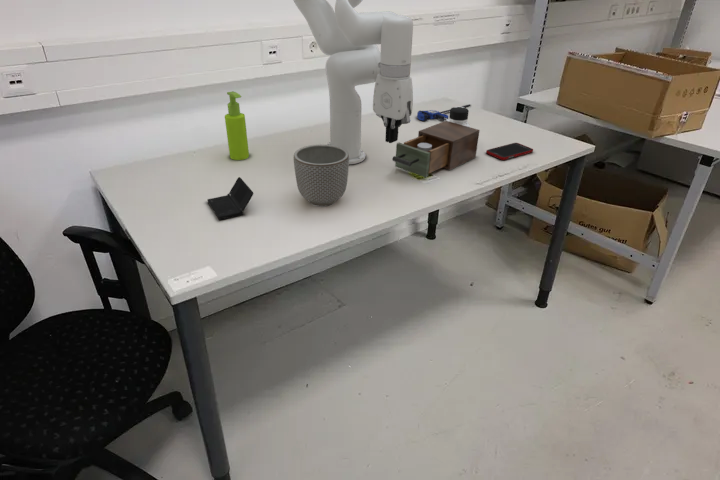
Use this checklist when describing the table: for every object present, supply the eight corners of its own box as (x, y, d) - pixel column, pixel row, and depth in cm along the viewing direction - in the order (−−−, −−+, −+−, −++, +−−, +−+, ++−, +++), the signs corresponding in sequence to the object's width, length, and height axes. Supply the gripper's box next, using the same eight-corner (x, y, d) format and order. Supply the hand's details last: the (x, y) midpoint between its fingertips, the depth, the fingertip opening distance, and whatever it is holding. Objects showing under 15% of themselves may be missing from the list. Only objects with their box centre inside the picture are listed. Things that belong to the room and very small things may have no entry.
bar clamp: (434, 118, 182) (413, 112, 188) (433, 124, 183) (412, 118, 189) (482, 105, 202) (462, 99, 208) (481, 110, 203) (461, 105, 209)
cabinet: (449, 170, 147) (453, 141, 142) (416, 158, 154) (418, 130, 150) (475, 157, 156) (479, 129, 152) (443, 147, 164) (446, 120, 159)
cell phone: (533, 152, 161) (534, 149, 160) (502, 160, 154) (503, 158, 153) (515, 144, 166) (516, 142, 166) (484, 153, 159) (485, 150, 159)
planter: (326, 184, 137) (326, 140, 130) (359, 202, 128) (360, 155, 121) (285, 198, 129) (282, 152, 122) (317, 218, 120) (315, 169, 114)
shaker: (420, 166, 144) (421, 148, 141) (413, 161, 148) (414, 143, 145) (432, 164, 146) (434, 146, 143) (426, 159, 149) (427, 142, 146)
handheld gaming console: (199, 199, 124) (219, 166, 123) (221, 207, 130) (241, 175, 129) (219, 222, 118) (241, 188, 116) (241, 229, 123) (262, 197, 122)
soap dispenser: (237, 162, 149) (228, 96, 139) (226, 155, 154) (218, 91, 143) (254, 158, 152) (247, 93, 142) (243, 151, 157) (236, 88, 146)
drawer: (415, 182, 137) (417, 158, 133) (384, 171, 144) (385, 147, 140) (452, 164, 148) (455, 141, 145) (422, 154, 155) (424, 132, 151)
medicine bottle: (467, 146, 164) (472, 111, 158) (446, 146, 164) (450, 111, 158) (464, 139, 170) (468, 105, 164) (443, 139, 170) (447, 104, 164)
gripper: (362, 67, 123) (361, 137, 133) (409, 78, 115) (404, 152, 124) (382, 63, 128) (379, 131, 138) (428, 73, 119) (422, 144, 129)
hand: (391, 141), depth 131 cm, fingers closed
